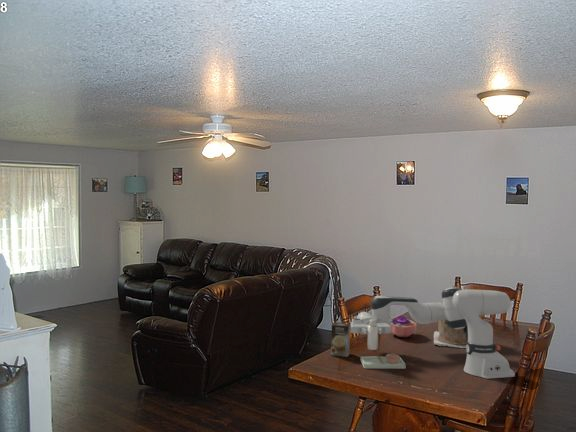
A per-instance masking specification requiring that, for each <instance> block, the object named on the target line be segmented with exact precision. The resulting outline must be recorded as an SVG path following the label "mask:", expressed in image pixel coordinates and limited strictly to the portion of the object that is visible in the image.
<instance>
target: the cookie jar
mask: <svg viewBox="0 0 576 432" xmlns="http://www.w3.org/2000/svg"><path fill="white" fill-rule="evenodd" d="M452 287H453V288H458V289H460V290H463V289H462V288H460V287H458V286H456V285H452ZM445 322H447V321H446V320H440V321H438V327H437V329H438V331H437V330H436V331H434V332H433V344H434V346H435V345H437V346H440V347H449V348H456V349H466V346H467V341H468V327H467V326H466V327H464V328H463V329H452V328H450V327H448V325H447V324H444V323H445Z"/></svg>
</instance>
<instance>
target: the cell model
mask: <svg viewBox="0 0 576 432" xmlns="http://www.w3.org/2000/svg"><path fill="white" fill-rule="evenodd" d="M417 324H418V323H417V322H415V321H414V320H413V319H408V318H406V317H405V316H404V315H399V316H397V318H391V333H392V334H393V335H395V336H397V337H399V338H408V337H410V336H411V335H413V333H415V332H416V331H417V327H418V325H417Z"/></svg>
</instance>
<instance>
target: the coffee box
mask: <svg viewBox="0 0 576 432" xmlns="http://www.w3.org/2000/svg"><path fill="white" fill-rule="evenodd" d="M330 337H331V338H330V339H331V340H330V341H331V342H330V346H331V347H330V355H331V356H334V357H335V356H336V357H346V358H349V355H350V348H351V347H350V344H351V343H350V342H351V341H350V339H351V323H346V322H345V323H344V322H337V321H336V322H335V321H333V323H332V324H331V336H330Z"/></svg>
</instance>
